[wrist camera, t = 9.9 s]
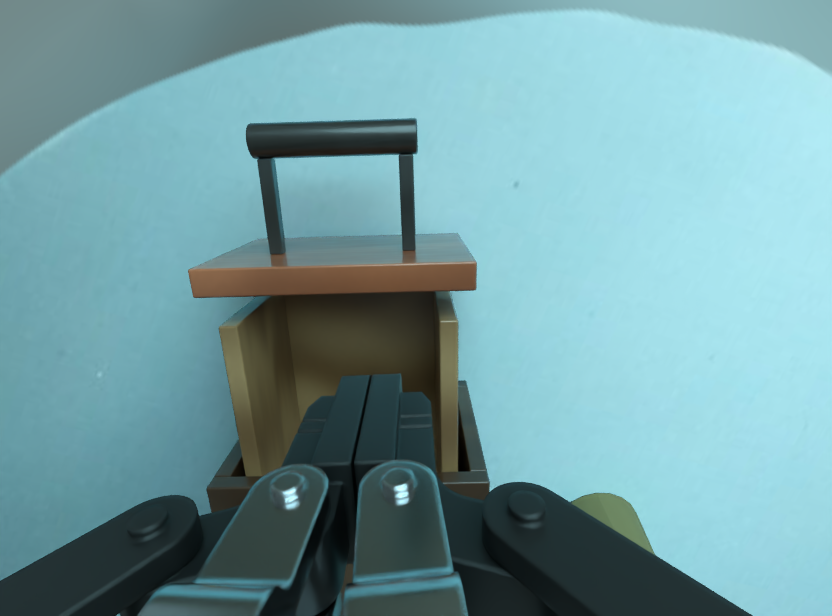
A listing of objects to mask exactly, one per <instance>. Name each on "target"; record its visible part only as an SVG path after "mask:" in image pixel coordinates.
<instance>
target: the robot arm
mask: <svg viewBox="0 0 832 616" xmlns="http://www.w3.org/2000/svg"><path fill="white" fill-rule="evenodd" d="M347 564H353V576H352V583H347V584H346V588H345V593H344V601H343V590H342V586H343V582H344V576H345V571H346V565H347ZM342 606H343V612H342V616H752V615H751V614H749V613H747V612H746V611H744V610H743V609H741V608H739V607H738V606H736V605H734V604H733V603H731V602H730V601H728V600H726V599H725V598H723V597H722V596H720V595H718V594H717V593H715V592H714V591H712V590H710V589H709V588H707V587H705V586H704V585H702V584H701V583H699V582H697V581H696V580H694V579H693V578H691V577H689V576H688V575H686V574H685V573H683V572H681V571H680V570H678V569H676V568H675V567H673V566H672V565H670V564H668V563H667V562H665V561H664V560H662V559H660V558H659V557H657V556H656V555H654V554H652V553H651V552H649V551H647V550H646V549H644V548H643V547H641V546H639V545H638V544H636V543H635V542H633V541H631V540H630V539H628V538H627V537H625V536H623V535H622V534H620V533H618V532H617V531H615V530H614V529H612V528H610V527H609V526H607V525H606V524H604V523H602V522H601V521H599V520H597V519H596V518H594V517H593V516H591V515H589V514H588V513H586V512H585V511H583V510H581V509H580V508H578V507H577V506H575V505H573V504H572V503H570V502H568V501H567V500H565V499H564V498H562V497H560V496H559V495H557V494H556V493H554V492H552V491H551V490H549V489H547V488H545V487H542V486H540V485H536V484H532V483H526V482H511V483H506V484H503V485H500V486H498V487H496V488H494V489H493V490H492V491H490V492H489V493H488V495H487V496H486V497H485V499H484V500H480V499H475V498H470V497H467V496H463V495H460V494H458V493H456V492H454V491H452V490H450V489H449V488H448V487H446V486H445V485H444V484H443V483H442V482H441V480H440V479H439V477H438V475H437V473H436V467H435V453H434V439H433V426H432V411H431V401H430V400H429V399H428V398H427V397H426V396H425V395H424V393H423V392H422V391H421V392H402V379H401V373H398V374H375V375H372V377H371V375H355V376H342V377H341V380H340V383H339V385H338V388H337V391H336V394H335V395H333V396H321V397H320V398H318V399H317V400H316V401H315V402H314V403H313V404H311V405H310V406H309V407H308V409H307V411H306V413H305V415H304V418H303V420H302V422H301V424H300V426H299V429H298V433H296V435H295V437H294V440H293V442H292V444H291V446H290V448H289V451H288V453H287V455H286V457H285V459H284V462H283V464H282V466H281V467H280V468H277V469H275V470H273V471H271V472H269V473H267V474H265V475H264V476H262V477H261V478H260V479H259V480H258V481H257V482H256V483H255V484H254V485H253V486H252V487H251V489H250V490H249V492H248V494H247V495H246V497H245V499H244V500H243V502H242V503H241V504H240V505H238V506H235V507H231V508H228V509H224V510H221V511H217V512H213V513H210V514H206V515H202V516H199V514H198V510H197V507H196V504H195V503H194V501H193V500H191V499H190V498H188V497H185V496H180V495H169V496H162V497H158V498H154V499H151V500H148V501H146V502H143V503H141V504H139V505H137V506H135V507H133V508H131V509H129V510H128V511H126V512H124V513H122V514H120V515H119V516H117V517H115V518H113V519H111V520H109V521H108V522H106V523H104V524H102V525H100V526H99V527H97V528H95V529H93V530H91V531H90V532H88V533H86V534H84V535H82V536H81V537H79V538H77V539H75V540H73V541H72V542H70V543H68V544H66V545H64V546H63V547H61V548H59V549H57V550H55V551H54V552H52V553H50V554H48V555H46V556H45V557H43V558H41V559H39V560H37V561H36V562H34V563H32V564H30V565H28V566H26V567H25V568H23V569H21V570H19V571H17V572H16V573H14V574H12V575H10V576H8V577H7V578H5V579H3V580H1V581H0V616H116V615H117V614H119V613H120V615H121V616H340V615H341V611H342Z"/></svg>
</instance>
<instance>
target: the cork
mask: <svg viewBox="0 0 832 616" xmlns="http://www.w3.org/2000/svg"><path fill="white" fill-rule="evenodd" d="M571 503H572V504H573V505H575V506H577V507H578V508H580V509H581V510H583V511H585V512H586V513H588V514H589V515H591V516H593V517H594V518H596V519H597V520H599V521H601V522H602V523H604V524H606V525H607V526H609V527H610V528H612V529H614V530H615V531H617V532H618V533H620V534H622V535H623V536H625V537H627V538H628V539H630V540H631V541H633V542H635V543H636V544H638V545H639V546H641V547H643V548H644V549H646V550H647V551H649V552H651V553H652V554H654V552H653V549H652V547H651V545H650V543H649V540H648V538H647V536H646V534H645V531H644V529H643V527H642V525H641V523H640V520H639V518H638V516H637V514H636V512H635V510H634V509H633V507H632V505H631V504H630V503H629V502H627V501H626V500H625V499H623V498H622V497H619V496H616V495H613V494H610V493H595V494H590V495H586V496H582V497H580V498H578V499H576V500H574V501H573V502H571ZM654 555H655V554H654Z"/></svg>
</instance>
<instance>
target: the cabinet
mask: <svg viewBox="0 0 832 616" xmlns="http://www.w3.org/2000/svg"><path fill="white" fill-rule="evenodd" d="M436 473H437V475H438V477H439V479H440V480H441V482H442V483H443V484H444V485H445V486H446V487H448V488H449V489H450V490H452V491H454V492H456V493H458V494H460V495H463V496H467V497H470V498H475V499H480V500H484V499H485V497H486V496H487V495H488V493H489V487H490V482H489V478H488V473H487V469H486V464H485V460H484V456H483V451H482V447H481V443H480V438H479V434H478V430H477V426H476V421H475V417H474V413H473V408H472V404H471V400H470V395H469V391H468V387H467V383H466V381H458V472H436ZM261 477H262V476H246V475H245V469H244V464H243V458H242V453H241V447H240V442H239V440H238V441H237V443H236V444H235V446H234V447H233V449H232V450H231V452H230V453H229V455H228V456H227V458H226V459H225V461H224V462H223V464H222V465H221V467H220V468H219V470H218V471H217V473H216V474H215V476H214V478H213V479H212V481H211V482H210V484H209V485H208V487H207V494H208V498H209V503H210V507H211V512H212V513H213V512H217V511H221V510H224V509H228V508H231V507H235V506H238V505H240V504H241V503H242V502H243V500H244V499H245V497H246V495H247V494H248V492H249V490H250V489H251V487H252V486H253V485H254V484H255V483H256V482H257V481H258V480H259V479H260V478H261ZM352 576H353V564H347V565H346V571H345V576H344V582H343V586H342V590H343V601H344V593H345V588H346V584H347V583H352ZM342 612H343V606H342V611H341V615H340V616H342Z"/></svg>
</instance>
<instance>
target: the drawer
mask: <svg viewBox="0 0 832 616" xmlns="http://www.w3.org/2000/svg"><path fill="white" fill-rule="evenodd" d="M246 142H247V146H248V150H249V152H250V154H251V156H252V157H253V158H255V159H258V160H257V162H258V169H259V177H260V184H261V191H262V199H263V206H264V214H265V221H266V228H267V236H268V239H257V240H255V241H252V242H250V243H248V244H246V245H243V246H241V247H239V248H236V249H234V250H232V251H230V252H227V253H225V254H223V255H221V256H218V257H216V258H214V259H212V260H209V261H207V262H205V263H203V264H200V265H198V266H196V267H193V268H191V269H189V270H188V273H189V278H190V283H191V288H192V293H193V297H194V298H212V297H249V296H257V297H256V298H254V299H253V300H252V301H251V302H249V303H248V304H247V305H246V306H244V307H243V308H242V309H241V310H239V311H238V312H237V313H236V314H234V315H233V316H232V317H231V318H229V319H228V320H227V321H226V322H224V323H223V324H222V325H221V326H219V332H220V338H221V343H222V349H223V354H224V360H225V365H226V371H227V376H228V382H229V387H230V393H231V398H232V404H233V409H234V415H235V420H236V426H237V431H238V436H239V442H240V447H241V453H242V458H243V464H244V469H245V475H246V476H264V475H265V474H267V473H269V472H271V471H273V470H275V469H277V468H280V467H281V466H282V464H283V462H284V459H285V457H286V455H287V453H288V451H289V448H290V446H291V444H292V442H293V440H294V437H295V435H296V433H298V429H299V426H300V424H301V422H302V420H303V418H304V415H305V413H306V411H307V409H308V407H309V406H310V405H311V404H313V403H314V402H315V401H316V400H317V399H318V398H320V397H321V396H333V395H335V394H336V391H337V388H338V385H339V383H340V380H341V377H342V376H355V375H371V377H372V375H375V374H398V373H401V379H402V392H421V391H422V392H423V393H424V395H425V396H426V397H427V398H428V399H429V400H430V401H431V411H432V426H433V439H434V453H435V467H436V472H458V319H457V315H456V311H455V308H454V304H453V300H452V297H451V293H450V291H471V290H476V276H477V263H476V261H475V259H474V258H473V256H472V255H471V253H470V251H469V250H468V248H467V247H466V245H465V244H464V242H463V240H462V239H461V237H460V236H459V234H458V233H449V234H415V204H414V170H413V155H412V154H417V152H418V145H417V120H416V119H415V118H409V119H377V120H345V121H313V122H281V123H250V124H248V126H247V128H246ZM370 155H399V174H400V200H401V226H402V235H378V236H343V237H308V238H284V231H283V223H282V215H281V207H280V199H279V190H278V182H277V174H276V166H275V160H274V159H271V158H304V157H337V156H370Z"/></svg>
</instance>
